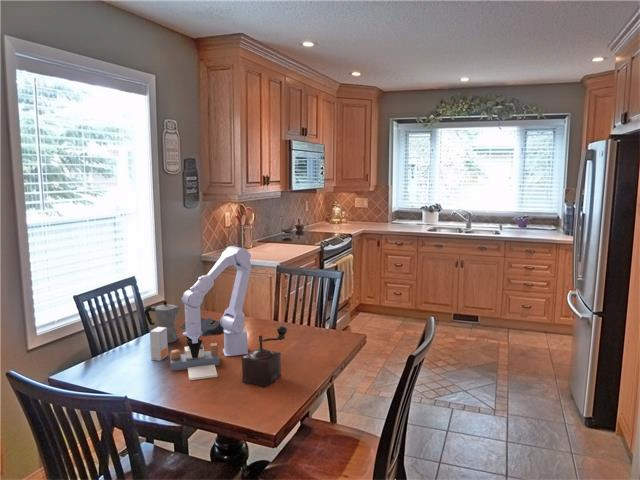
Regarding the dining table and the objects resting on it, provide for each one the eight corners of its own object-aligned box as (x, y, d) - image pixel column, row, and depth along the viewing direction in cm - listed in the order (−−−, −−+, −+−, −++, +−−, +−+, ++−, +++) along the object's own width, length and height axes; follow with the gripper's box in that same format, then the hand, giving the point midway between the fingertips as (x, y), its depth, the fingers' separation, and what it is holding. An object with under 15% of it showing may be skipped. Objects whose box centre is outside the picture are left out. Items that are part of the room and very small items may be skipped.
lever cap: (203, 353, 192) (202, 343, 192) (204, 357, 188) (203, 347, 187) (185, 355, 190) (184, 345, 190) (185, 360, 186) (185, 349, 185)
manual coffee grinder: (267, 388, 168) (266, 338, 165) (241, 382, 173) (240, 333, 170) (290, 371, 181) (289, 325, 179) (265, 366, 186) (264, 321, 184)
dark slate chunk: (202, 320, 245) (202, 311, 244) (232, 329, 231) (231, 320, 231) (177, 328, 233) (176, 319, 232) (206, 338, 219) (206, 328, 219)
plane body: (217, 357, 196) (216, 340, 195) (219, 364, 188) (218, 347, 187) (170, 362, 190) (169, 345, 189) (171, 370, 183) (170, 353, 182)
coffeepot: (182, 335, 222) (181, 297, 220) (181, 342, 213) (179, 302, 211) (147, 338, 219) (145, 299, 216) (144, 345, 210) (142, 304, 207)
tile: (214, 366, 187) (214, 364, 187) (217, 376, 177) (217, 374, 177) (187, 369, 184) (187, 367, 184) (189, 380, 174) (189, 378, 174)
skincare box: (160, 361, 192) (159, 332, 191) (151, 360, 193) (149, 331, 192) (168, 355, 198) (167, 327, 197) (159, 354, 199) (157, 326, 197)
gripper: (181, 317, 193) (183, 349, 194) (183, 328, 179) (184, 363, 181) (199, 315, 195) (201, 347, 197) (202, 326, 181) (204, 360, 183)
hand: (194, 355), depth 189 cm, fingers closed on lever cap, 5 cm apart
